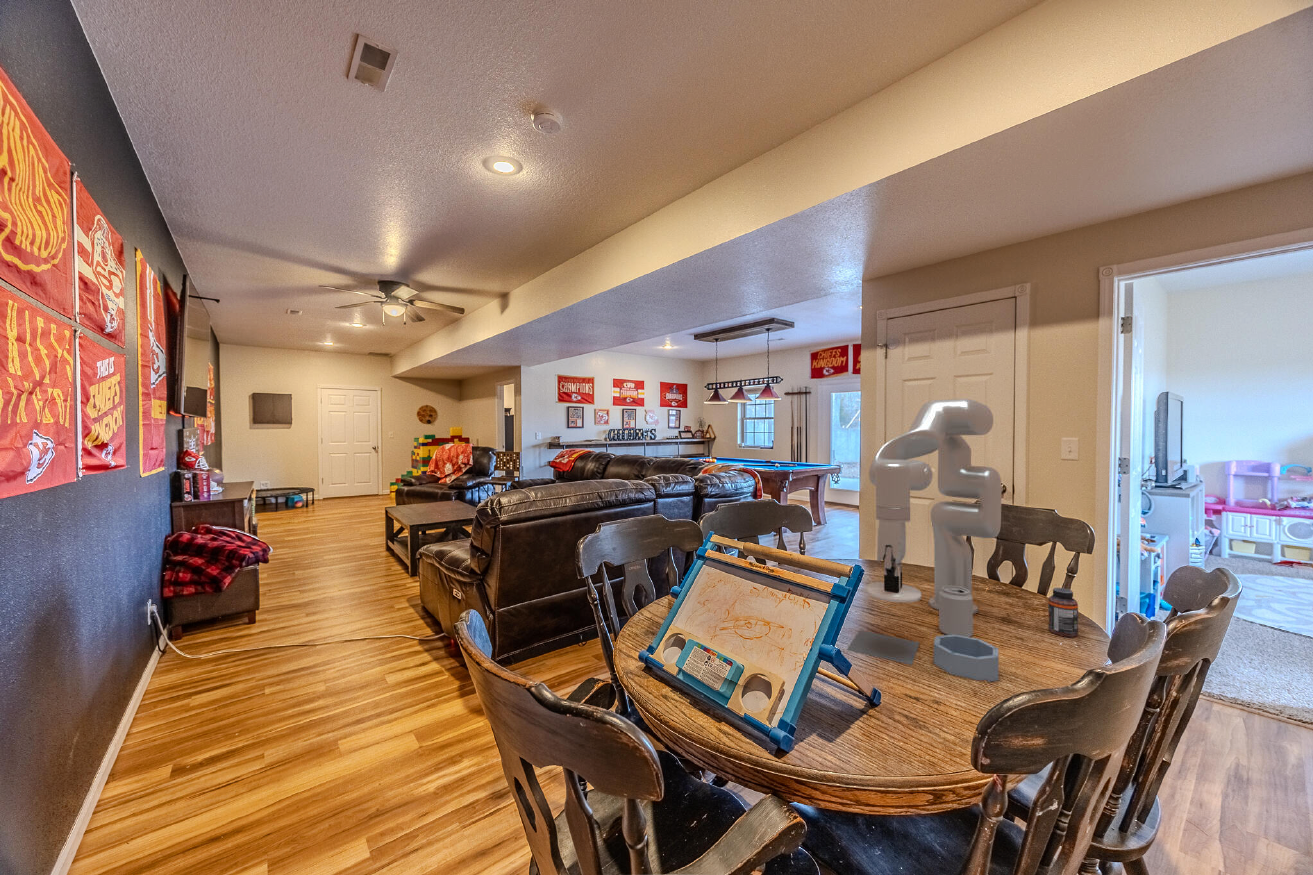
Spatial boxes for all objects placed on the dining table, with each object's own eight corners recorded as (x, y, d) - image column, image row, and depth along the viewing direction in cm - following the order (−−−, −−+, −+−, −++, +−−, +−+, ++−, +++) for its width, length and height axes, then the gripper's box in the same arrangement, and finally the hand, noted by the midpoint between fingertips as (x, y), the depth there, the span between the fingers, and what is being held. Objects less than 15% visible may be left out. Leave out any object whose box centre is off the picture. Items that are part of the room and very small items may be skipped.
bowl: (937, 651, 118) (937, 631, 118) (998, 664, 112) (998, 642, 112) (932, 672, 108) (932, 649, 108) (998, 687, 102) (998, 663, 102)
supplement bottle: (1048, 626, 133) (1048, 584, 132) (1077, 632, 129) (1077, 589, 129) (1048, 633, 128) (1048, 590, 128) (1078, 640, 124) (1078, 595, 124)
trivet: (859, 632, 130) (859, 630, 130) (919, 644, 122) (919, 642, 122) (846, 652, 119) (846, 649, 119) (911, 667, 111) (911, 664, 111)
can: (978, 641, 124) (978, 594, 124) (945, 639, 125) (945, 592, 125) (965, 629, 131) (965, 584, 131) (934, 627, 133) (934, 583, 132)
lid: (871, 583, 127) (871, 556, 127) (924, 591, 121) (924, 562, 120) (860, 596, 118) (860, 567, 118) (917, 606, 111) (917, 575, 111)
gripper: (883, 507, 128) (883, 578, 128) (868, 517, 114) (868, 596, 115) (915, 510, 123) (915, 583, 124) (904, 520, 110) (904, 602, 110)
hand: (893, 588), depth 119 cm, fingers closed on lid, 3 cm apart
